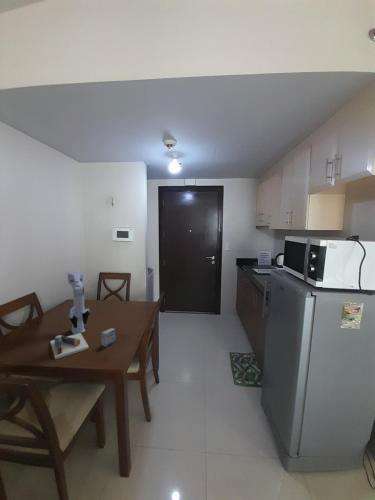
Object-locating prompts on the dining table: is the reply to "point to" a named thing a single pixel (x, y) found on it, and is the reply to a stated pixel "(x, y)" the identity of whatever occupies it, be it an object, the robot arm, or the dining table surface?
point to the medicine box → (108, 337)
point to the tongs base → (58, 345)
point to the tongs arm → (68, 340)
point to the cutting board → (70, 347)
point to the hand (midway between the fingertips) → (80, 325)
